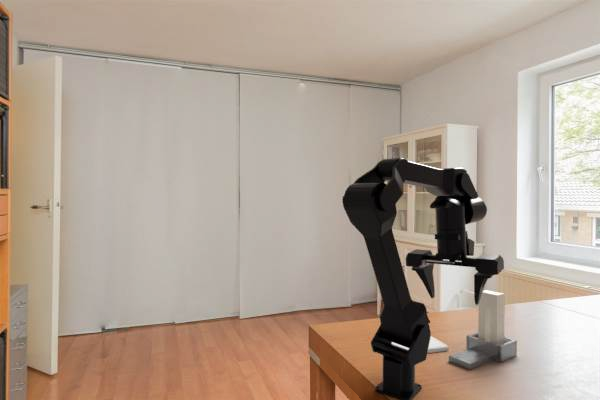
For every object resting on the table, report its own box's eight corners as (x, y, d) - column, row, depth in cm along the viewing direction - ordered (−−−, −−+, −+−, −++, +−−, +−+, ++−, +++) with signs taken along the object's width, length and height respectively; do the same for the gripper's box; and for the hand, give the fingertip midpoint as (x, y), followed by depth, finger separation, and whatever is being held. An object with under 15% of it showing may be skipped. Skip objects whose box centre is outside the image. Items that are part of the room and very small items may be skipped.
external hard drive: (448, 353, 91) (400, 358, 88) (428, 340, 99) (382, 345, 96) (448, 346, 91) (400, 351, 88) (428, 334, 99) (382, 338, 96)
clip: (496, 352, 87) (497, 295, 87) (478, 345, 91) (478, 291, 91) (504, 349, 89) (504, 293, 89) (485, 343, 92) (486, 289, 92)
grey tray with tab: (476, 372, 80) (477, 355, 80) (442, 358, 86) (442, 343, 86) (518, 355, 89) (518, 339, 89) (484, 343, 95) (484, 329, 95)
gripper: (508, 223, 83) (511, 296, 84) (422, 221, 95) (426, 285, 96) (495, 232, 75) (498, 313, 76) (402, 228, 86) (406, 298, 88)
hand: (454, 300), depth 84 cm, fingers open, 9 cm apart
